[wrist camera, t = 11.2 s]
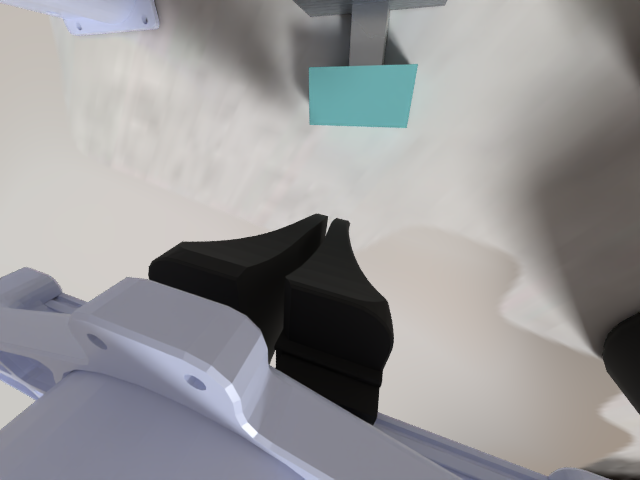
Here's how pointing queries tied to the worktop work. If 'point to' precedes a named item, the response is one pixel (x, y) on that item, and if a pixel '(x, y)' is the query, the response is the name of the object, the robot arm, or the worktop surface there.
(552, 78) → the worktop surface
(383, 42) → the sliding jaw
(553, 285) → the worktop surface
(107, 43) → the worktop surface
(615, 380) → the coffee jar
